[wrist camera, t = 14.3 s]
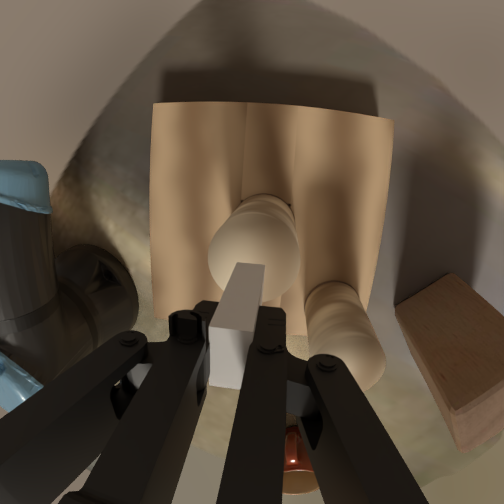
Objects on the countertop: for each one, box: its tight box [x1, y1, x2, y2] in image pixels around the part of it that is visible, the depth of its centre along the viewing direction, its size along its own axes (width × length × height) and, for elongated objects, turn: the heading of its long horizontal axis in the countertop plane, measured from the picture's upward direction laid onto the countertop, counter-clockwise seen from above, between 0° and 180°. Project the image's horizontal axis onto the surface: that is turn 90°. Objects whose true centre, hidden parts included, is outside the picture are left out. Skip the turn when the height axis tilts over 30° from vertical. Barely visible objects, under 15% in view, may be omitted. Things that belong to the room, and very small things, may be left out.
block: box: [395, 273, 504, 453], centre depth 27 cm, size 10×10×20 cm
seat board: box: [150, 102, 394, 392], centre depth 28 cm, size 24×24×16 cm
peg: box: [208, 193, 300, 302], centre depth 27 cm, size 6×6×16 cm
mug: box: [282, 426, 320, 495], centre depth 41 cm, size 12×9×10 cm
